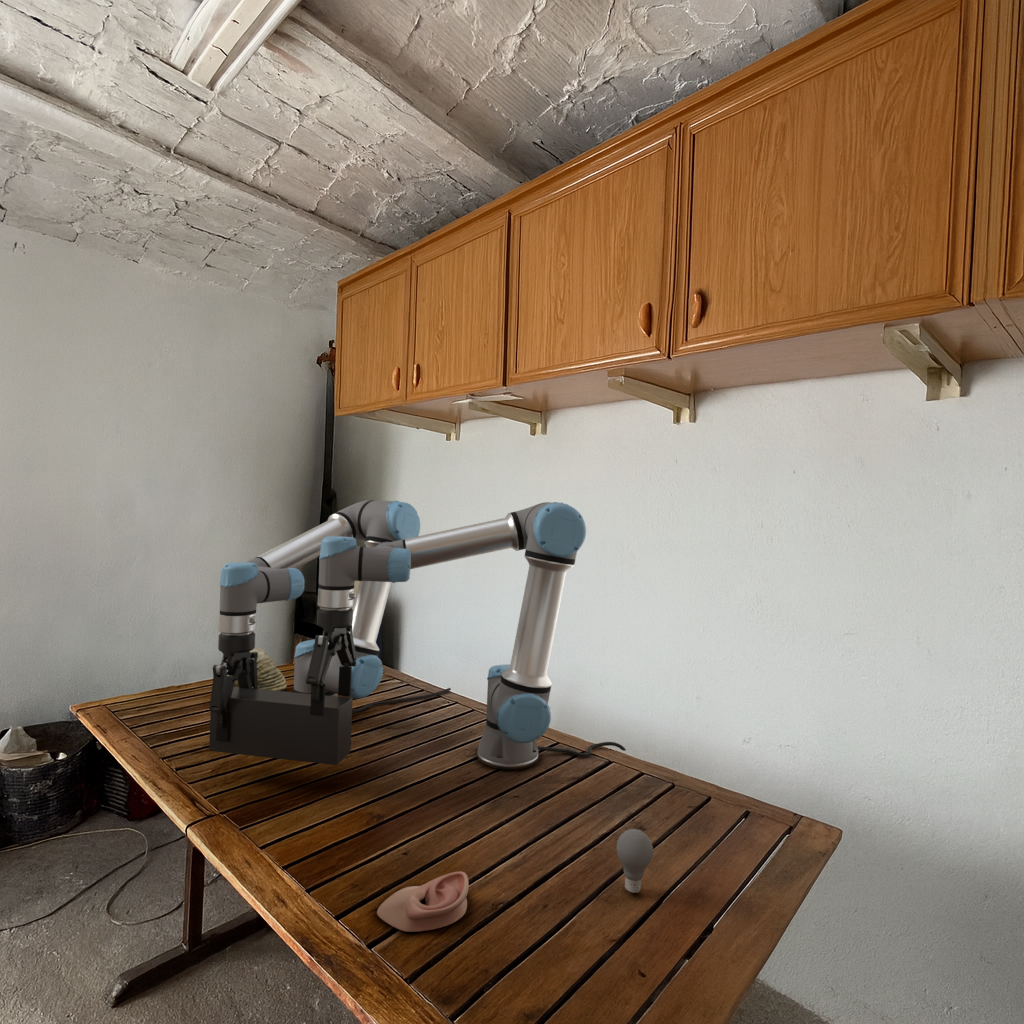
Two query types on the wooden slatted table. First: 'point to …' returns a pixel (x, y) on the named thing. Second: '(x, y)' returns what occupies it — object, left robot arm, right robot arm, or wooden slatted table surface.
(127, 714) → the wooden slatted table surface
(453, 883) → the anatomical model
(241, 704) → the box
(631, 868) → the light bulb
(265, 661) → the fossil
